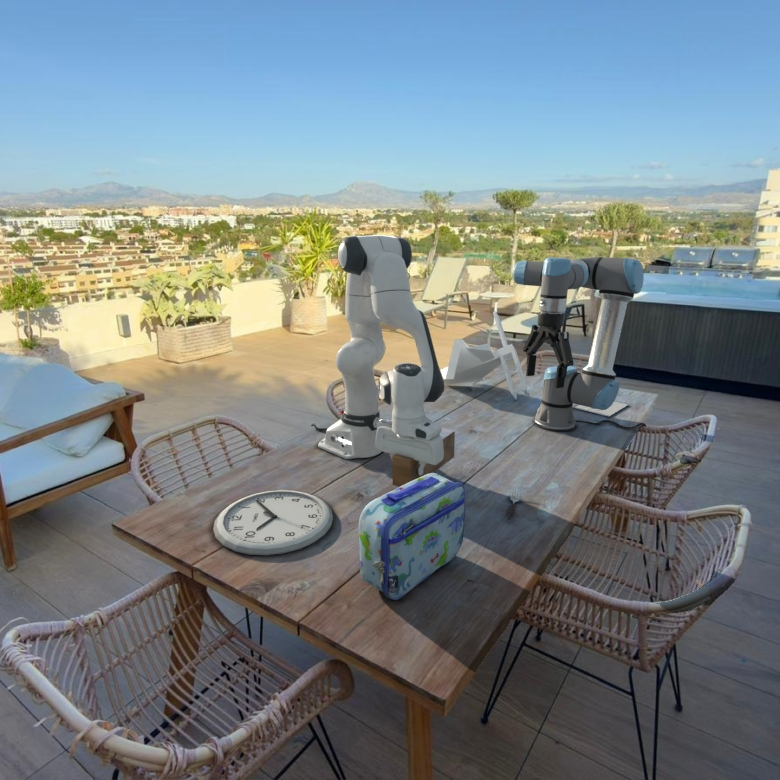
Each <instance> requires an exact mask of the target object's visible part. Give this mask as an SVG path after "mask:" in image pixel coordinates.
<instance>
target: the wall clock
mask: <svg viewBox="0 0 780 780" xmlns="http://www.w3.org/2000/svg"><path fill="white" fill-rule="evenodd" d="M333 520H334V516H333V511H332V509H331V507H330V506H329V505H328V503H327V502H325V501H324V500H322V499H321V498H320V497H318V496H315V495H313V494H310V493H307V492H303V491H298V490H287V489H286V490H285V489H280V490H279V489H277V490H267V491H262V492H258V493H257V492H256V493H253V494H250V495H247V496H245V497H241V498H240V499H238V500H236V501H234V502H233V503H230V504H229V505H228V506H227V507H225V508H224V509H223V510H222V511H220V512H219V513H218V516H217V517H216V518H215V519H214V523H213V529H212V530H213V533H214V536H215V540H217V541H218V542H219V543H220V544H221V545H222V546H223V547H225V548H227V549H229V550H231V551H233V552H236V553H241V554H244V555H249V556H250V555H251V556H252V555H253V556H273V555H281V554H282V555H283V554H286V553H292V552H294V551H299V550H301V549H304V548H305V547H307V546H310V545H312V544H314V543H316V542H317V541H319V540H320V539H321V538H323V537H324V536H325V535H326V534H327V533H328V532H329V530H330V529H331V527H332V525H333Z"/></svg>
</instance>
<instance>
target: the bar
mask: <svg viewBox="0 0 780 780" xmlns="http://www.w3.org/2000/svg"><path fill="white" fill-rule="evenodd" d="M441 428H442V430H441V433H439V435H440V436H441V437H442V440H443V447H444V458H443V460H442V461H441V462H440V463H438V464H437V465H432V464H428V463H427V464H426V465H425V467H424V468H423V474H422V475H417V474H416V468H418V467H420V464H419V461H417V460H414V458H410V457H406V456H402V455H399V454H395V455H394V456H392V459H391V466H392V468H391V470H392V473H391V475H392V486H395V487H397V488H399V487H401V486H403V485H405V484H407V483H409V482H411V481H413V480H415V479H417V478H420V477H422V476H424V475H427V474H430V473H435V472H436V471H438V470H439V469H441V468H442V467H443V466H445V465H446V464H447V463H449V462H450V461H451V460H452V459H454V458H455V444H456V443H455V442H456V441H455V440H456V439H455V437H456V431H455V430H453V429H448V428H443V427H441Z"/></svg>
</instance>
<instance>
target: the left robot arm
mask: <svg viewBox="0 0 780 780" xmlns="http://www.w3.org/2000/svg"><path fill="white" fill-rule="evenodd" d="M412 259H413V250H412V246H411V243H410V242H409V240H408V239H406V238H403V237H401V236H397V235H395V236H390V235H382V234H375V235H360V236H357V235H351V236H346V237H344V238H342V239H341V241H340V243H339V244H338V250H337V260H338V265H339V267H340V268H341V269H342V270H343V272H345V273H347V275H346V281H345V307H344V308H345V309H344V310H345V312H344V313H345V314H344V315H345V316H344V317H345V320H346V322H347V324H348V328H349V332H350V341H347V342H345V343H344V344H343V345H342V346H341V347H340V349H339V350H338V351H337V353H336V355H335V366H336V368H337V371H339V372H340V373H341V379H342V382H343V386H344V408H343V409H342V410H340V411H338V416H341V418H340V419H338V420H337V421H335V422H334V423H331V424H330V426H329V427H328V428H321V427H318V426H317V425H316V424H315V423H311V425H310V426H311V427H313V428H314V429H315V430H317V431H325V435H324V438H322V439H321V440H320V441H319V442H318V446H317V448H319V449H322V450H324V451H326V452H327V453H328V452H329V453H331V454H333V455H335V456H338V457H340V458H343V459H345V460H352V459H364V458H365V459H366V458H371V457H375V456H377V455H380V454H381V453H382V452H383V453H388V454H389V457H390V460H392V456H394V455H395V454H399V455H402V456H406V457H410V458H414V460H417V461H419V464H420V467H418V468H416V474H417V475H422V474H423V468H424V467H425V465H426V464H427V463H428V464H432V465H437V464H438V463H440V462H441V461H442V460H443V458H444V447H443V440H442V437H441V436H440V435H439V433H441V430H442V428H443V427H442V426H441V424H439V423H436V422H435V421H433V420H431V419H430V418H429V417H427V416H426V412H425V409H424V403H435V402H436V401H437V400H439V398H440V397H442V395H443V394H444V392H445V384H444V380H443V377H442V374H441V371H440V370H441V368H440V365H439V363H438V359H437V355H436V351H435V347H434V344H433V339H432V335H431V331H430V328H429V324H428V322H427V319H426V316H425V313H424V312H423V311H422V310H419V309H418V308H417V307H416V304H415V303H414V301H413V298H412V293H411V292H412V291H411V284H410V283H411V282H410V278H409V273H408V268H409V267H410V266H411V263H412ZM382 323H383V324H384V325H387V326H389V327H391V328H395V329H398V330H401V331H403V332H405V333H408V334H410V336H411V337H412V339H413V340H414V342H415V346H416V350H417V355H418V358H419V362H420V365H418V364H416V363H411V362H403V363H402V362H401V363H398V364H396V365H395V366H394V367H393V369H390V370H385V371H384V372H383V373H382V374H381V375H380V377H379V378H378V385H377V382H376V379H375V373H374V371H375V366H376V365H378V364H380V362H381V361H382V360H383V358H384V356H385V353H386V349H387V347H386V343H385V340H384V336H383V329H382ZM379 399H381V401H383V402H384V403H386V404H387V405H389V406H390V405H391V406H392V411H391V419H386V418H380V417H381V414H380V412H381V411H380V409H379Z"/></svg>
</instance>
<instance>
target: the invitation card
mask: <svg viewBox="0 0 780 780" xmlns="http://www.w3.org/2000/svg"><path fill="white" fill-rule="evenodd" d="M628 406H629V404H627V403H623V402H618V401H614V402H613V404H612V405H611V406H610V407H609V408H608V409H606V410H600V409H592V408H591V407H586V406H582V405H578V404H577V405H575V406H574V407H573V409H575V410H581V411H584V412H587V413H593V414H596V415H600V416H604V417H608V418H609V417H611V416H613V415H614V414H616V413H617V412H619V411H621V410H623V409H624V408H626V407H628Z"/></svg>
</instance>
